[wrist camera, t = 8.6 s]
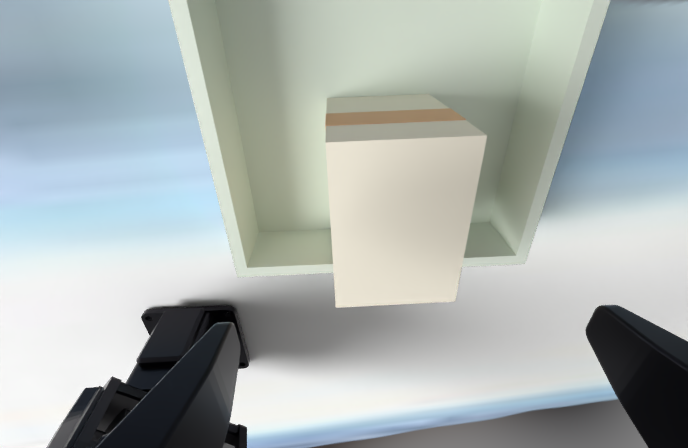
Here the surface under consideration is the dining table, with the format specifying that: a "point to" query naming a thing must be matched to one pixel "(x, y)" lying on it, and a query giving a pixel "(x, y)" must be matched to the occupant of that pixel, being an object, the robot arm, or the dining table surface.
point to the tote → (378, 80)
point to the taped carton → (399, 197)
